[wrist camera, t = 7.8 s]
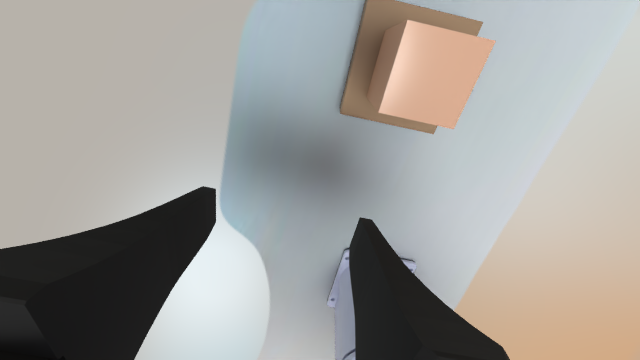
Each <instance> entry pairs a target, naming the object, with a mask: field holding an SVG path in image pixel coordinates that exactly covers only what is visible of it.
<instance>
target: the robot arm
mask: <svg viewBox="0 0 640 360" xmlns="http://www.w3.org/2000/svg"><path fill="white" fill-rule="evenodd" d="M215 223H216V189H213V188H209V187H204V186H203V187H200V188H198V189H196V190H194V191H191V192H189V193H187V194H185V195H183V196H181V197H179V198H176V199H174V200H172V201H170V202H167V203H165V204H163V205H161V206H158V207H156V208H153V209H151V210H148V211H146V212H144V213H141V214H139V215H136V216H133V217H130V218H128V219H125V220H122V221H119V222H116V223H113V224H109V225H106V226H103V227H99V228H95V229H92V230H88V231H85V232H81V233H77V234H73V235H70V236H65V237H61V238H56V239H52V240H47V241H42V242H38V243H32V244H27V245H22V246H16V247H10V248H4V249H0V360H134V359H135V357H136V355H137V353H138V351H139V349H140V347H141V345H142V343H143V341H144V339H145V337H146V335H147V333H148V331H149V329H150V328H151V326H152V324H153V322H154V320H155V319H156V317H157V315H158V313H159V311H160V309H161V308H162V306H163V304H164V302H165V301H166V299H167V297H168V296H169V294H170V292H171V290H172V289H173V287H174V285H175V284H176V282H177V281H178V279H179V278H180V276H181V275H182V274H183V272H184V271H185V269H186V268H187V266H188V265H189V264H190V262H191V261H192V260H193V258H194V257H195V256H196V254H197V253H198V251H199V250H200V248H201V247H202V245H203V244H204V243H205V241H206V240H207V238H208V236H209V234H210V233H211V231H212V229H213V227H214V225H215ZM347 257H348V258H347ZM416 267H417V266H416V263H415V262H413V261H408V260H402V259H400V258H399V256H398V255H397V254H396V253H395V251H394V250H393V249H392V247H391V246H390V245H389V243H388V242H387V241H386V239H385V238H384V236H383V235H382V234H381V232H380V231H379V229H378V228H377V226H376V225H375V223H374V222H373V221H372V220H371V219H366V218H361V217H360V218H359V221H358V224H357V227H356V230H355V233H354V236H353V238H352V241H351V244H350V247H349V249H348V250H345V251H344V254H343V257H342V260H341V262H340V265H339V268H338V271H337V274H336V277H335V280H334V283H333V286H332V289H331V292H330V295H329V298H328V301H327V305H328V306H329V307H333V308H335V360H510V359H509V357H508V356H507V354H506V352H505V351H504V349H503V347H502V346H500V345H499V344H498V343H496V342H495V341H493V340H492V339H490V338H489V337H487V336H486V335H485V334H483V333H482V332H480V331H479V330H478V329H476V328H475V327H473V326H472V325H471V324H469V323H468V322H467V321H466V320H464V319H463V318H462V317H460V316H459V315H458V314H457V313H455V312H454V311H453V310H452V309H451V308H449V307H448V306H447V305H446V304H445V303H443V302H442V301H441V300H440V299H439V298H438V297H437V296H436V295H435V294H433V293H432V292H431V291H430V290H429V289H428V288H427V287H426V286H425V285H424V284H423V283H422V282H421V281H420V280H419V279H418V278H417V277H416V276H415V275H414V274H413V273H414V271H415V269H416Z"/></svg>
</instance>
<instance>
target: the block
mask: <svg viewBox="0 0 640 360" xmlns="http://www.w3.org/2000/svg"><path fill="white" fill-rule="evenodd" d="M495 42H496V41H494V40H490V39H486V38H481V37H477V36H473V35H469V34H465V33H461V32H457V31H452V30H448V29H444V28H440V27H436V26H432V25H427V24H423V23H419V22H415V21H411V20H406V21H404V22H402V23H400V24H398V25H395V26H393V27H391V28H389V29H387V30H385V33H384V37H383V40H382V44H381V47H380V51H379V55H378V58H377V62H376V65H375V69H374V72H373V76H372V79H371V83H370V86H369V90H368V93H367V98H368V100H369V101H370V102H371V104H372V105H373V106H374V107H375V109H376V110H377V111H378V113H382V114H387V115H392V116H396V117H401V118H405V119H410V120H414V121H419V122H423V123H428V124H432V125H437V126H442V127H446V128H451V129H454V127H455V125H456V123H457V121H458V119H459V117H460V115H461V113H462V111H463V109H464V107H465V104H466V102H467V100H468V98H469V96H470V94H471V92H472V90H473V88H474V86H475V84H476V81H477V79H478V77H479V75H480V73H481V71H482V69H483V67H484V65H485V63H486V61H487V58H488V56H489V54H490V52H491V50H492V48H493V46H494V44H495Z"/></svg>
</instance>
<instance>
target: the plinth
mask: <svg viewBox="0 0 640 360" xmlns="http://www.w3.org/2000/svg"><path fill="white" fill-rule="evenodd" d="M406 20H411V21H415V22H419V23H423V24H427V25H432V26H436V27H440V28H444V29H448V30H452V31H457V32H461V33H465V34H469V35H473V36H477V35H478V33H479V30H480V28H481V26H482V24H483V22H481V21H477V20H473V19H468V18H464V17H460V16H456V15H452V14H448V13H444V12H440V11H436V10H432V9H428V8H424V7H420V6H415V5H411V4H407V3H403V2H399V1H395V0H365V4H364V8H363V12H362V17H361V21H360V25H359V29H358V33H357V38H356V42H355V46H354V50H353V54H352V59H351V63H350V67H349V71H348V76H347V80H346V84H345V88H344V92H343V97H342V101H341V105H340V114H344V115H349V116H353V117H358V118H362V119H367V120H371V121H376V122H381V123H385V124H390V125H394V126H399V127H403V128H408V129H413V130H417V131H422V132H426V133H431V134H434V132H435V130H436V128H437V125H432V124H428V123H423V122H419V121H414V120H410V119H405V118H401V117H396V116H392V115H387V114H382V113H378V111H377V110H376V109H375V107H374V106H373V105H372V104H371V102H370V101H369V100H368V98H367V93H368V90H369V86H370V83H371V79H372V76H373V72H374V69H375V65H376V62H377V58H378V55H379V51H380V47H381V44H382V40H383V37H384V33H385V30H387V29H389V28H391V27H393V26H395V25H398V24H400V23H402V22H404V21H406Z"/></svg>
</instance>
